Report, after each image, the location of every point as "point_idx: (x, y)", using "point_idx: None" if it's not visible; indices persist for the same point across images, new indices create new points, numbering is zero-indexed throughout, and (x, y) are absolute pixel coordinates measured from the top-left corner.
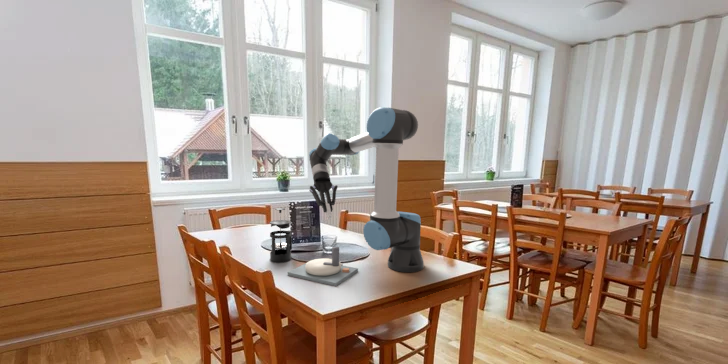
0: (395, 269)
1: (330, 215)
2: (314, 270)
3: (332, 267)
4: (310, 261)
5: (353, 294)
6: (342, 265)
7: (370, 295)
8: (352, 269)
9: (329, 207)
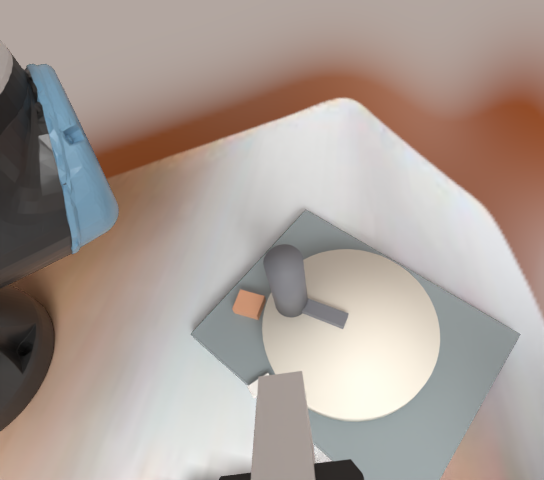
0: (47, 315)
1: (275, 377)
2: (387, 259)
3: (308, 276)
4: (419, 374)
5: (262, 165)
6: (249, 384)
7: (219, 157)
8: (217, 323)
9: (262, 478)
